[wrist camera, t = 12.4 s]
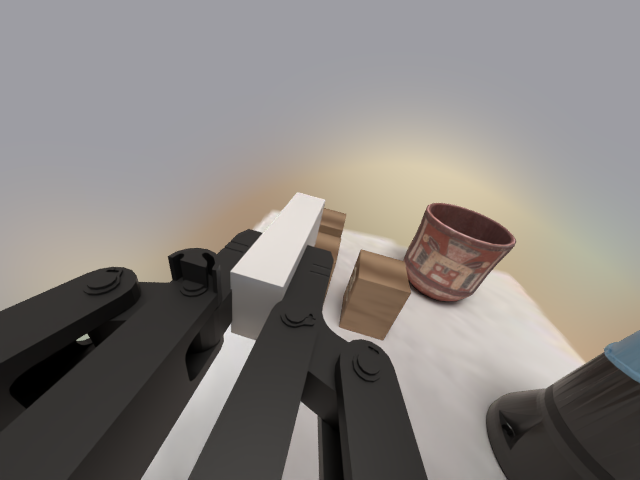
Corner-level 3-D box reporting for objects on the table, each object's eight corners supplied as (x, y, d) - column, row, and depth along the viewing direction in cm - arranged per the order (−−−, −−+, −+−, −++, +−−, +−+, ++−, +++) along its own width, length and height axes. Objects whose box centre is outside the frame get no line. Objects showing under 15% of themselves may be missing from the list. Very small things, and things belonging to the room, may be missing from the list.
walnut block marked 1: (303, 246, 59) (312, 204, 53) (334, 255, 59) (346, 214, 52) (294, 265, 52) (303, 219, 46) (329, 274, 52) (342, 230, 45)
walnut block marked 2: (342, 295, 47) (359, 249, 41) (381, 306, 47) (404, 261, 41) (338, 326, 41) (357, 277, 34) (382, 340, 40) (411, 293, 34)
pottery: (389, 254, 64) (416, 195, 54) (449, 267, 65) (486, 211, 55) (403, 303, 49) (445, 234, 39) (481, 319, 50) (540, 255, 40)
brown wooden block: (292, 273, 50) (300, 226, 43) (327, 284, 49) (341, 238, 43) (279, 300, 43) (287, 249, 37) (320, 312, 43) (335, 263, 36)
